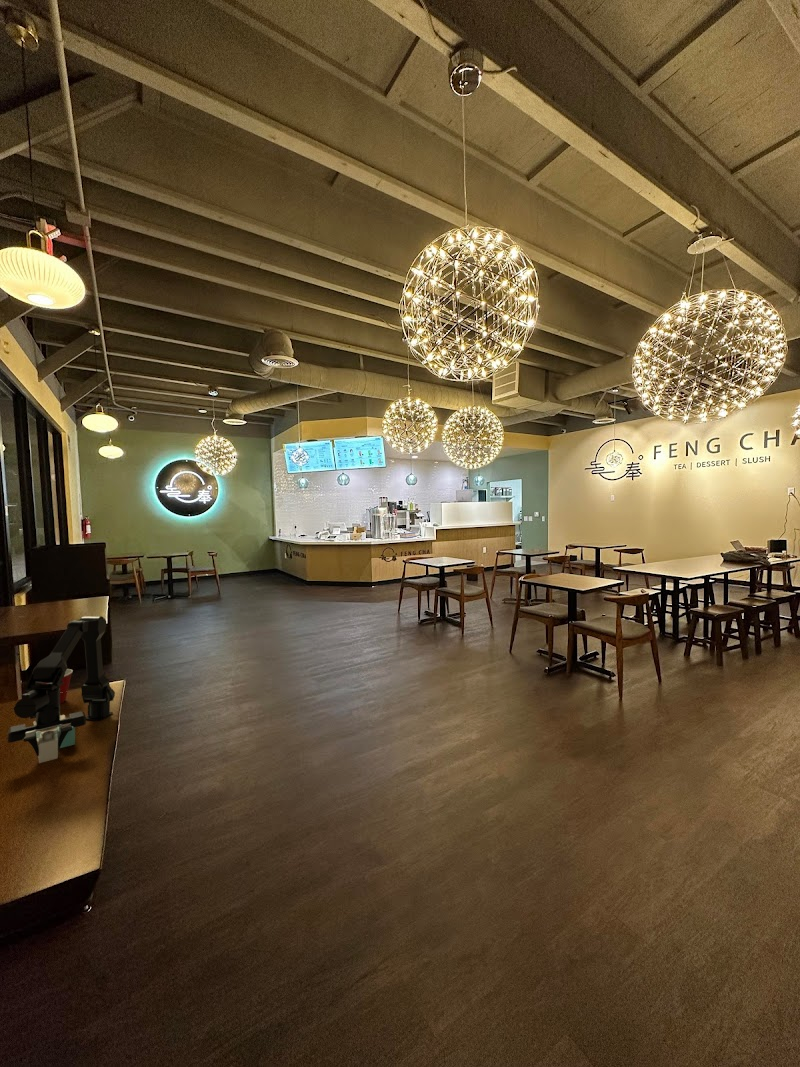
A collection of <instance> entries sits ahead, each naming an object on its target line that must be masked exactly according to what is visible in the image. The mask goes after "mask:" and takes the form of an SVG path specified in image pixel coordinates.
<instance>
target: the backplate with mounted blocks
mask: <svg viewBox="0 0 800 1067" xmlns="http://www.w3.org/2000/svg"><path fill="white" fill-rule="evenodd" d="M65 718H66V715H65V714H62V715H61V714H60V720H61V719H65ZM32 724H33V725H32V726H34V725H36V720H34V721H32ZM46 731H53V735H54V734H57V727H54V728H50V729H46V730H41V731H37V732H36V737H37V743H38V738H42V737H43V733H44V732H46Z"/></svg>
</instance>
